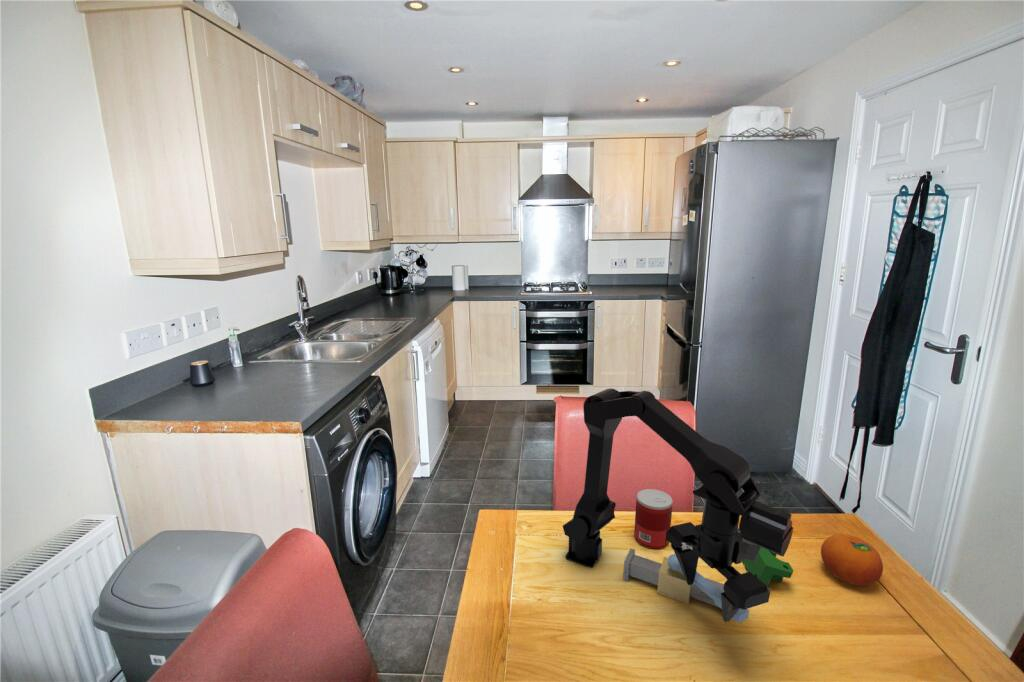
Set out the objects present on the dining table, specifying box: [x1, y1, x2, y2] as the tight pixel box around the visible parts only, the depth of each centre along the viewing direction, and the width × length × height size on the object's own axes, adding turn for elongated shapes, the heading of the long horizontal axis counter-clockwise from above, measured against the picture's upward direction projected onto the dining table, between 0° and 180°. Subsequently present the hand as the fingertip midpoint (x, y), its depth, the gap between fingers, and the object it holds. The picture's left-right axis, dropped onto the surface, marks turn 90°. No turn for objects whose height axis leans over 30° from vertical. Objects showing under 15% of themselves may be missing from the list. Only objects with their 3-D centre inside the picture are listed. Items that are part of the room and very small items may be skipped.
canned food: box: [633, 488, 674, 550], centre depth 109 cm, size 8×8×11 cm
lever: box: [667, 553, 750, 624], centre depth 88 cm, size 4×17×2 cm, turn 27°
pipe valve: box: [622, 548, 724, 617], centre depth 94 cm, size 20×5×5 cm, turn 61°
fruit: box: [820, 533, 884, 586], centre depth 98 cm, size 11×10×8 cm
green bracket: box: [742, 547, 794, 587], centre depth 99 cm, size 12×6×9 cm, turn 166°
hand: (707, 601), depth 84 cm, fingers open, 9 cm apart
